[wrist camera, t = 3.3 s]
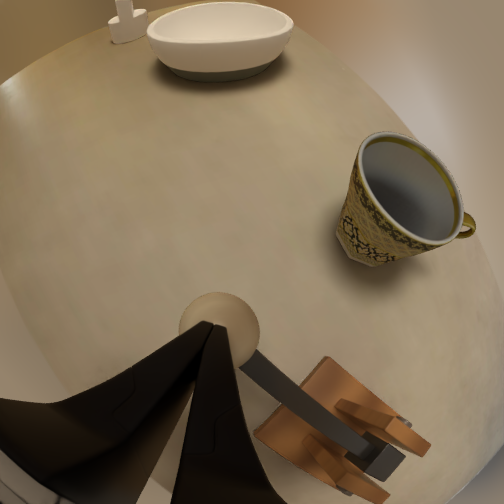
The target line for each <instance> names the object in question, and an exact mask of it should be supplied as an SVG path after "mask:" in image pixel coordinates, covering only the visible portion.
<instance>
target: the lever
mask: <svg viewBox="0 0 504 504" xmlns="http://www.w3.org/2000/svg"><path fill="white" fill-rule="evenodd" d="M202 320H205V321H208V322H211V323H213V324H214V325H215V324H218V325H222V326H225V327H226V328H227V332H228V338H229V344H230V349H231V354H232V360H233V365H234V369H236V368H239V369H240V370H242V371H243V372H244V373H245V374H246V375H247V376H249V377H250V378H251V379H252V380H253V381H254V382H256V383H257V384H258V385H259V386H260V387H262V388H263V389H264V390H265V391H267V392H268V393H269V394H270V395H271V396H273V397H274V398H275V399H276V400H278V401H279V402H280V403H282V404H283V405H284V406H285V407H287V408H288V409H289V410H291V411H292V412H293V413H295V414H296V415H297V416H299V417H300V418H301V419H303V420H304V421H305V422H307V423H308V424H309V425H311V426H312V427H314V428H315V429H316V430H318V431H319V432H321V433H322V434H324V435H325V436H327V437H328V438H329V439H331V440H332V441H334V442H335V443H337V444H338V445H340V446H341V447H343V448H344V449H346V450H348V452H347V453H346V454H345V455H344V457H345V458H346V459H347V460H349V461H350V462H351V463H352V464H354V465H355V466H356V467H358V468H359V469H360V470H362V471H363V472H364V473H366V474H368V475H370V476H372V477H374V478H376V479H378V480H380V481H382V482H385V481H386V479H387V478H388V477H389V476H390V475H391V474H392V473H393V472H394V470H395V469H396V468H397V467H398V466H399V464H400V463H401V462H402V461H403V460H404V458H405V457H406V456H405V455H404V454H402V453H401V452H400V451H398V450H397V449H396V448H394V447H393V446H392V445H390V444H389V443H387V442H386V441H384V440H382V439H380V438H378V437H376V436H375V435H373V434H371V433H369V432H368V431H365V433H364V434H363V435H362V436H361V435H359V434H358V433H357V432H355V431H354V430H353V429H351V428H350V427H349V426H347V425H346V424H345V423H343V422H342V421H341V420H339V419H338V418H337V417H336V416H334V415H333V414H332V413H331V412H329V411H328V410H327V409H326V408H324V407H323V406H322V405H321V404H319V403H318V402H317V401H316V400H314V399H313V398H312V397H311V396H310V395H308V394H307V393H306V392H305V391H304V390H302V389H301V388H300V387H299V386H298V385H296V384H295V383H294V382H293V381H292V380H291V379H289V378H288V377H287V376H286V375H285V374H284V373H283V372H281V371H280V370H279V369H278V368H277V367H276V366H275V365H273V364H272V363H271V362H270V361H269V360H268V359H267V358H266V357H265V356H263V355H262V354H261V353H260V352H259V351H258V350H257V349H256V348H257V346H258V343H259V338H260V328H259V323H258V320H257V317H256V315H255V313H254V312H253V310H252V309H251V307H250V306H249V305H248V304H247V303H246V302H245V301H243V300H242V299H240V298H238V297H236V296H234V295H231V294H228V293H221V292H216V293H209V294H206V295H203V296H201V297H199V298H197V299H196V300H194V301H193V302H192V303H191V304H190V305H189V306H188V307H187V308H186V310H185V311H184V313H183V315H182V317H181V320H180V324H179V335H181V334H182V333H184V332H185V331H187V330H188V329H190V328H191V327H193V326H194V325H196V324H197V323H199V322H200V321H202Z"/></svg>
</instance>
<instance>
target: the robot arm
mask: <svg viewBox="0 0 504 504" xmlns="http://www.w3.org/2000/svg"><path fill="white" fill-rule="evenodd" d="M193 391H194V392H193ZM192 393H193V397H192V402H191V407H190V412H189V417H188V422H187V427H186V432H185V437H184V442H183V447H182V453H181V458H180V463H179V468H178V473H177V477H176V481H175V486H174V490H173V494H172V498H171V503H170V504H287V503H286V502H285V501H284V500H283V499H282V498H281V497H280V496H279V495H278V494H277V493H276V491H275V490H274V488H273V487H272V485H271V484H270V482H269V480H268V478H267V476H266V474H265V472H264V469H263V467H262V465H261V462H260V460H259V458H258V455H257V453H256V451H255V448H254V446H253V443H252V441H251V438H250V435H249V432H248V429H247V426H246V422H245V418H244V414H243V410H242V405H241V401H240V396H239V391H238V386H237V381H236V376H235V370H234V365H233V360H232V354H231V349H230V344H229V338H228V332H227V328H226V327H225V326H222V325H218V324H215V325H214V324H213V323H211V322H208V321H205V320H202V321H200V322H199V323H197V324H196V325H194V326H193V327H191V328H190V329H188V330H187V331H185V332H184V333H182V334H181V335H179V336H178V337H176V338H175V339H173V340H172V341H170V342H169V343H167V344H166V345H164V346H162V347H161V348H159V349H158V350H156V351H155V352H153V353H152V354H150V355H149V356H147V357H145V358H144V359H142V360H141V361H139V362H138V363H136V364H134V365H133V366H132V368H131V367H129V368H128V369H126V370H125V371H123V372H122V373H120V374H118V375H116V376H115V377H113V378H111V379H109V380H107V381H105V382H103V383H101V384H99V385H97V386H95V387H93V388H91V389H88V390H86V391H84V392H81V393H79V394H77V395H74V396H72V397H70V398H67V399H65V400H62V401H59V402H54V403H46V404H45V403H34V402H24V401H17V400H10V399H3V398H0V504H136V502H137V500H138V498H139V496H140V494H141V492H142V491H143V489H144V487H145V485H146V483H147V481H148V478H149V477H150V475H151V473H152V471H153V469H154V467H155V465H156V463H157V462H158V460H159V458H160V456H161V454H162V452H163V450H164V448H165V446H166V444H167V442H168V440H169V438H170V436H171V434H172V432H173V430H174V428H175V426H176V424H177V422H178V420H179V418H180V416H181V414H182V412H183V410H184V409H185V407H186V405H187V403H188V401H189V399H190V397H191V395H192Z"/></svg>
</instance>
